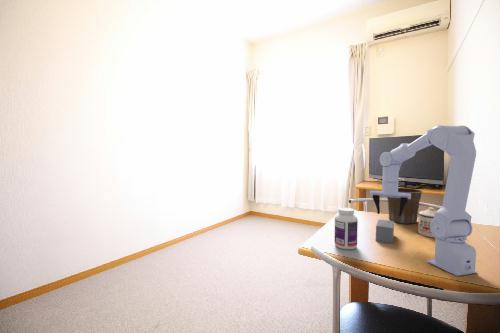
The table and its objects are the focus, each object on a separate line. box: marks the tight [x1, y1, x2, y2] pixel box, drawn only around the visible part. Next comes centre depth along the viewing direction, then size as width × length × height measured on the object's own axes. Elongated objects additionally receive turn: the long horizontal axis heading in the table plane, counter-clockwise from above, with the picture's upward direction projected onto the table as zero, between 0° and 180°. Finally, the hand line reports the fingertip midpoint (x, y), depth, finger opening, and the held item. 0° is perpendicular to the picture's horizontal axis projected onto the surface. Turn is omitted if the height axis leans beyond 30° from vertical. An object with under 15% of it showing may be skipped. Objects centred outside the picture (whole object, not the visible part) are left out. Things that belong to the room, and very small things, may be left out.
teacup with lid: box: [417, 206, 438, 239], centre depth 106 cm, size 12×9×12 cm
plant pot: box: [386, 187, 424, 225], centre depth 128 cm, size 16×16×16 cm
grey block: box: [375, 218, 395, 244], centre depth 104 cm, size 11×6×6 cm, turn 148°
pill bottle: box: [334, 207, 359, 250], centre depth 95 cm, size 8×8×14 cm
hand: (389, 214), depth 103 cm, fingers open, 7 cm apart
